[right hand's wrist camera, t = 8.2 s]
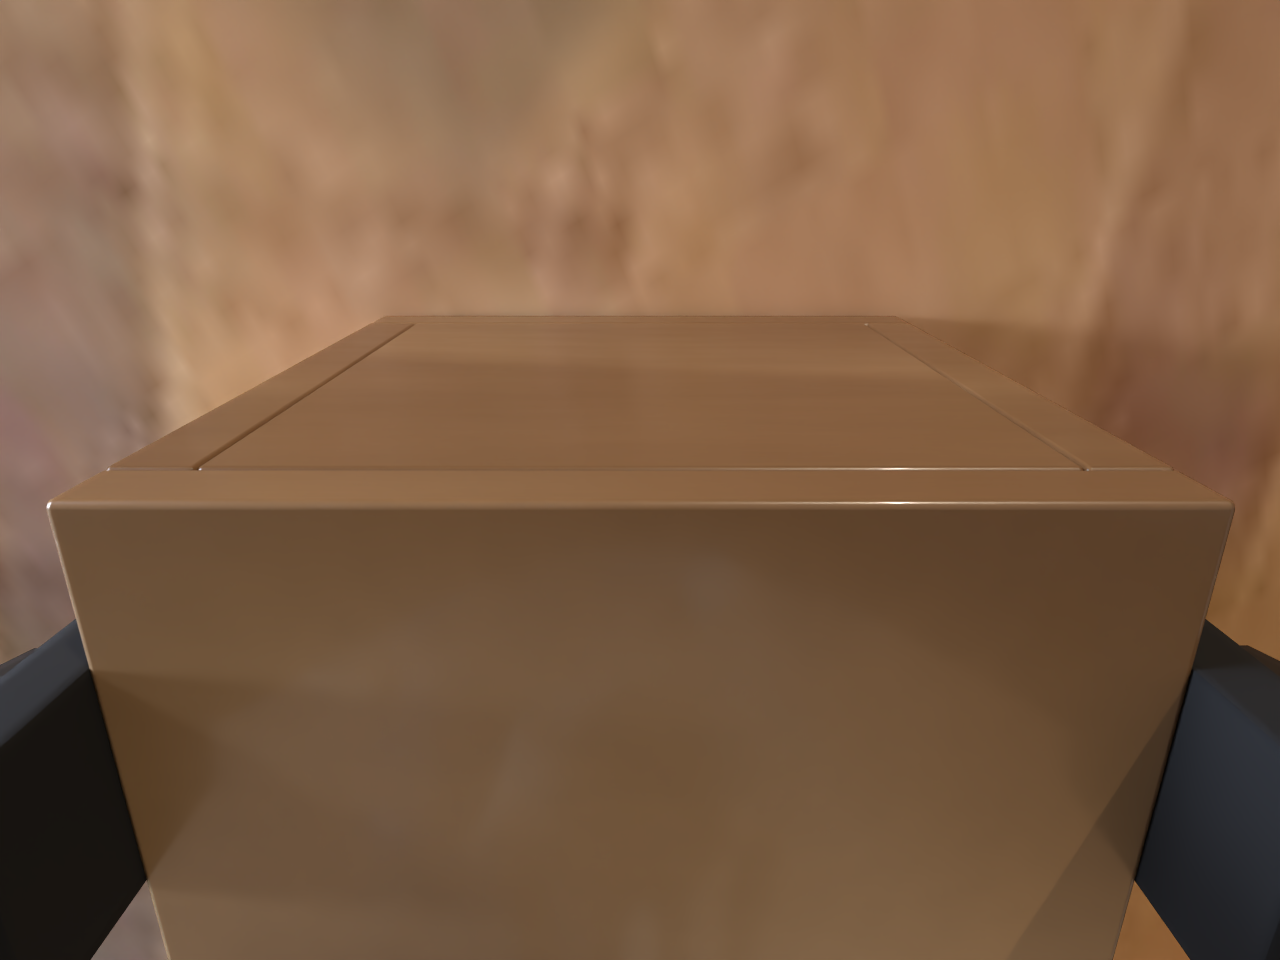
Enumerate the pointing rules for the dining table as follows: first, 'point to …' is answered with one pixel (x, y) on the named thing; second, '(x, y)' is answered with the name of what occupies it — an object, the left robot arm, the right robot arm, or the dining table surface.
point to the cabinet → (640, 648)
